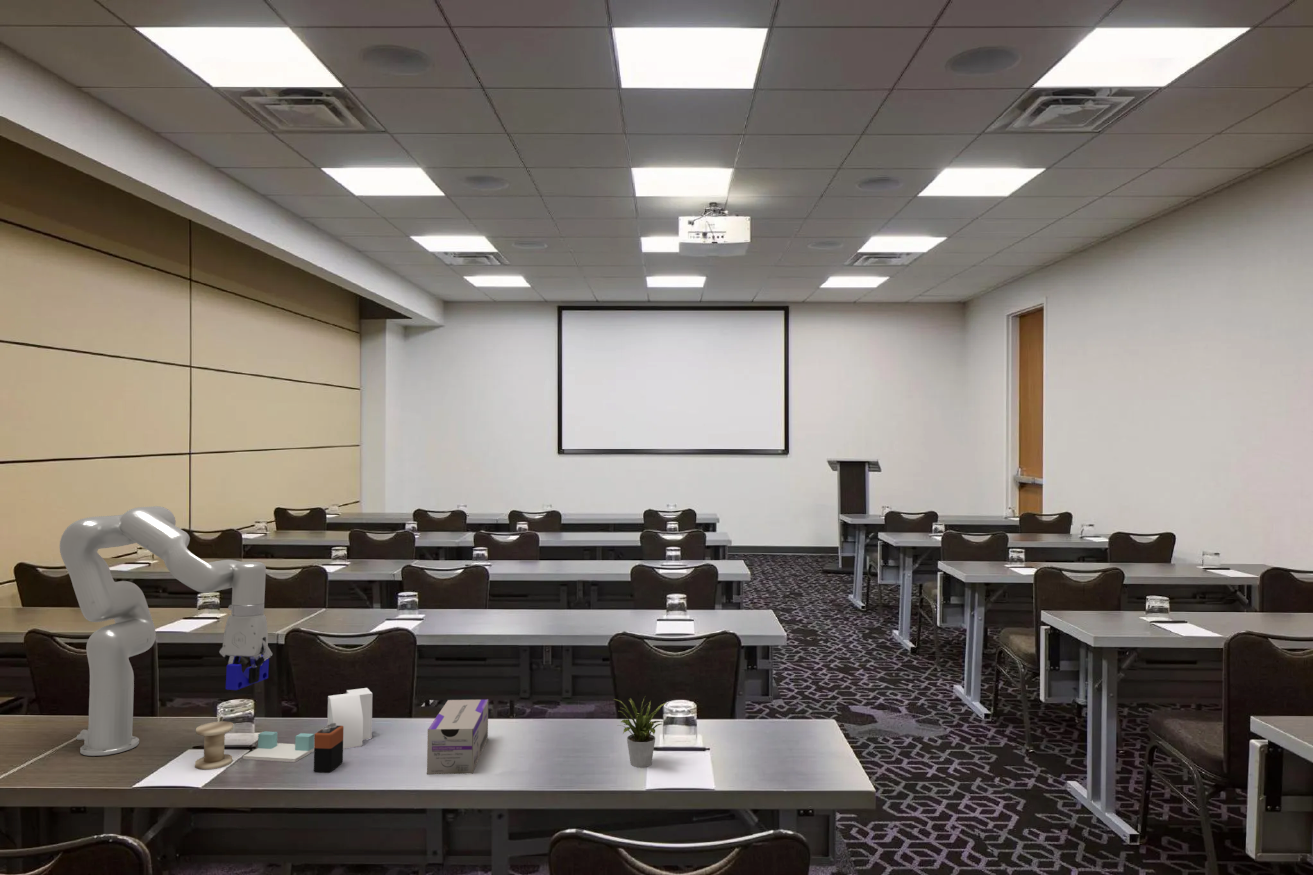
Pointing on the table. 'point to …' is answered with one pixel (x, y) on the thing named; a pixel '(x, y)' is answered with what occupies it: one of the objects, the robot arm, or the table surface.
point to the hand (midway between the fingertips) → (244, 680)
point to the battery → (328, 748)
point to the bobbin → (214, 745)
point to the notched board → (281, 748)
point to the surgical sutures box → (457, 737)
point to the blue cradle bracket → (243, 675)
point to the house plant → (640, 735)
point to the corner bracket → (352, 715)
